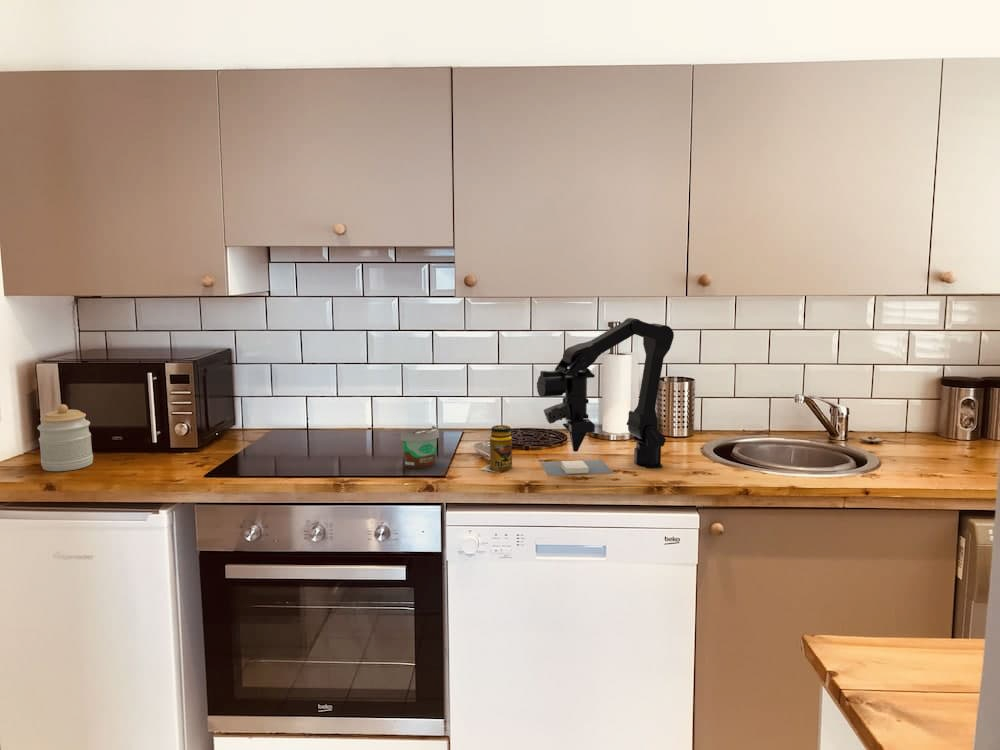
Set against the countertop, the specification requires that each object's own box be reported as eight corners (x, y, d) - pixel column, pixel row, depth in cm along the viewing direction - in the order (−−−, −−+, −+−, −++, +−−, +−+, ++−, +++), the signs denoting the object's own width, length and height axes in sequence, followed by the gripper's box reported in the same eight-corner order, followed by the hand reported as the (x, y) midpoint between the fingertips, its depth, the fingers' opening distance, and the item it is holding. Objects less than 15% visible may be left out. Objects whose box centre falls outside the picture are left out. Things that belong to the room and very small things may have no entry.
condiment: (505, 474, 214) (505, 430, 212) (478, 469, 218) (478, 427, 216) (518, 467, 220) (518, 425, 218) (492, 463, 224) (491, 422, 222)
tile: (582, 460, 219) (588, 467, 212) (582, 466, 219) (588, 473, 212) (561, 461, 218) (566, 468, 211) (561, 467, 218) (566, 474, 211)
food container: (416, 472, 216) (415, 436, 214) (401, 467, 220) (400, 432, 219) (448, 462, 225) (448, 428, 223) (434, 459, 229) (433, 425, 228)
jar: (104, 461, 228) (98, 401, 225) (68, 473, 215) (62, 410, 213) (67, 458, 231) (61, 398, 228) (30, 470, 219) (23, 407, 216)
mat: (601, 461, 226) (601, 460, 226) (614, 475, 212) (614, 473, 212) (539, 464, 224) (539, 462, 223) (548, 477, 210) (548, 475, 210)
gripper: (540, 389, 219) (539, 443, 222) (552, 402, 201) (552, 461, 204) (579, 388, 221) (578, 442, 223) (595, 400, 202) (594, 460, 205)
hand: (575, 451), depth 214 cm, fingers closed
